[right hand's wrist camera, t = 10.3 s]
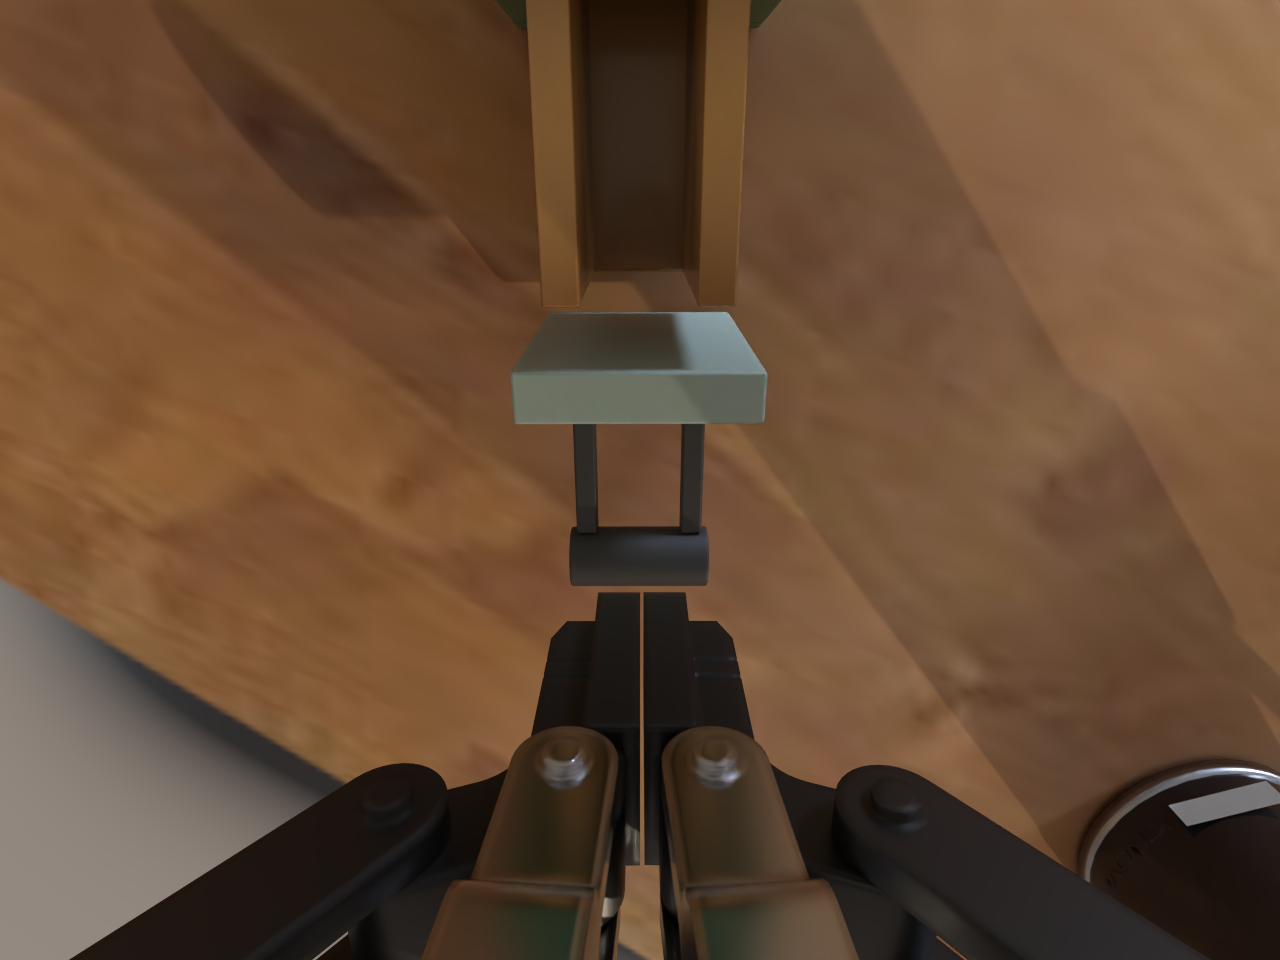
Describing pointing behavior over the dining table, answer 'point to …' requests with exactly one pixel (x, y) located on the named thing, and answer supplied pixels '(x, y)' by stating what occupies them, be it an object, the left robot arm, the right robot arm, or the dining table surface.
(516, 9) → the cabinet
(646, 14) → the drawer
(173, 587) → the dining table surface
